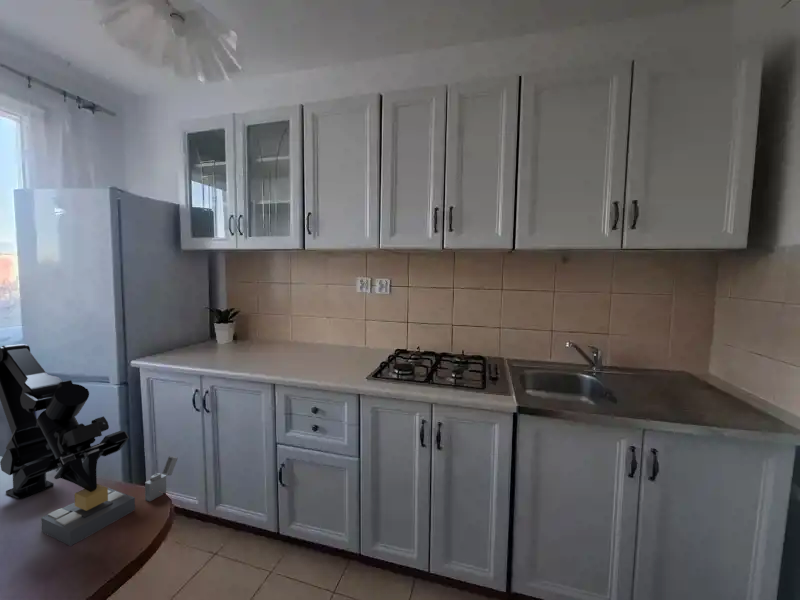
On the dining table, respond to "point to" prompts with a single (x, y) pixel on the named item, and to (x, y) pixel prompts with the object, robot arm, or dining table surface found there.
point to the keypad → (86, 518)
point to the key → (91, 497)
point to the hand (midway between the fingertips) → (93, 490)
